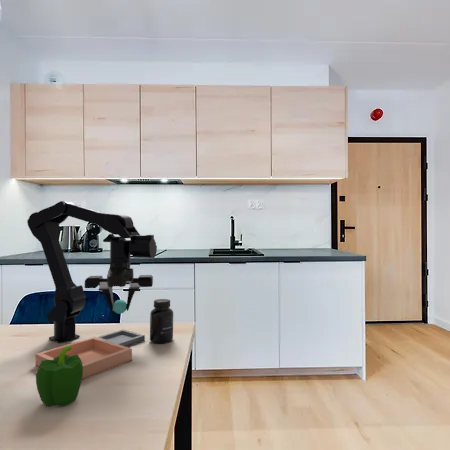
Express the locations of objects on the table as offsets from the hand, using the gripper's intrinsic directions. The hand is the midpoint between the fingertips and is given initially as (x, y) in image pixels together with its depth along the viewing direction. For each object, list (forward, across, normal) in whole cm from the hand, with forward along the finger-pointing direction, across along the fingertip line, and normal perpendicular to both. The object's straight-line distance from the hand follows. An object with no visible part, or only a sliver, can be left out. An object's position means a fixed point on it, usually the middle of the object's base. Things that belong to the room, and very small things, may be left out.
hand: (119, 310), depth 100 cm
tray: (+9, 0, 0) cm, 9 cm away
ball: (-1, 0, 0) cm, 1 cm away
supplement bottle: (+9, +12, -1) cm, 15 cm away
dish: (+9, -6, -15) cm, 19 cm away
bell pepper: (+9, -6, -33) cm, 35 cm away
